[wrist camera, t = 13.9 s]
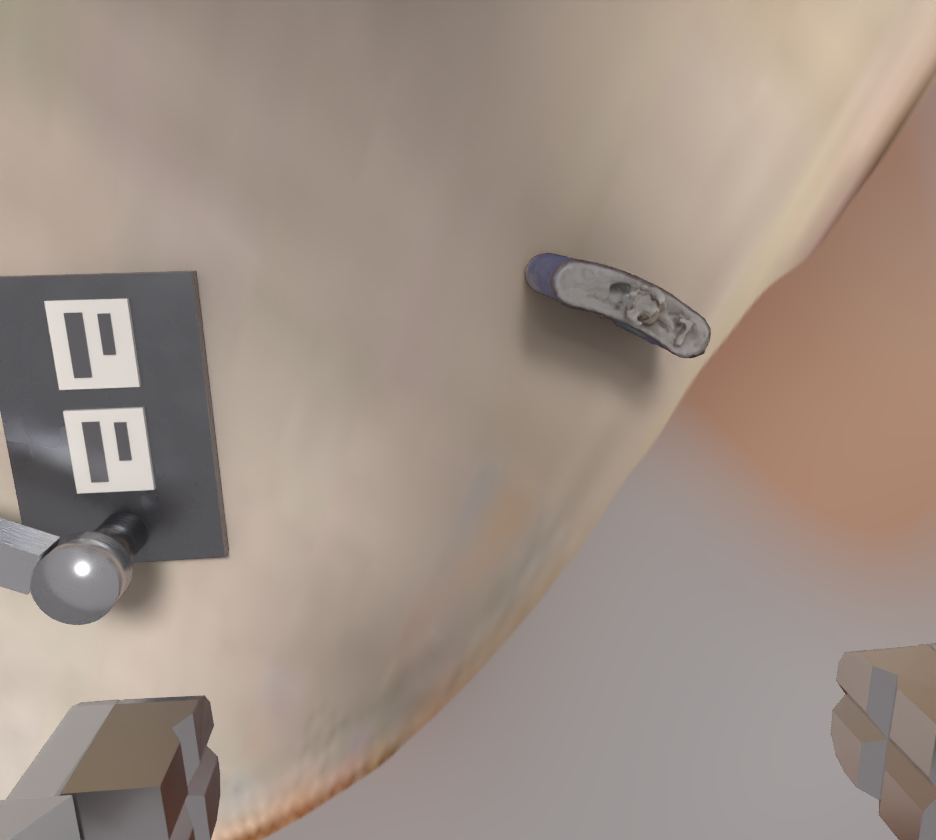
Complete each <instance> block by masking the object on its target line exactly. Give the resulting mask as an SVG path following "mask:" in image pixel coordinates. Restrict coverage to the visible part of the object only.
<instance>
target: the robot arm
mask: <svg viewBox="0 0 936 840" xmlns="http://www.w3.org/2000/svg"><path fill="white" fill-rule="evenodd" d="M836 681H837V682H838V684H839V685H840V687H841V688H842V690H843V691H844V692H845V695H844V697H843V698H842V699H841V700H840V702H839V703H838V704H837V705H836V706H835V708H834V709H833V710H832V723H831V736H832V741H833V745H834V749H835V754H836V757H837V759H838V760H839V763H840V765H841V767H842V769H843V770H844V772H845V774H846V775H847V776H848V777H849V779H850V780H851V781H852V783H853V784H854V785H855V786H856V787H857V788H859V789H861V790H862V791H864V792H866V793H868V794H869V795H871V796H873V797H875V798H877V799H878V800H879V816H880V817H881V818H882V819H883V821H884V822H885V823H886V824H887V826H888V827H889V828H890V830H891V831H892V832H893V833H894V834H895V836H896V837H897V838H898V839H899V840H936V643H932V644H922V645H918V646H909V647H897V648H886V649H874V650H863V651H851V652H844V654H843V656H842V658H841V659H840V661H839V663H838V671H837V677H836ZM213 727H214V723H213V717H212V711H211V705H210V702H209V700H208V699H207V698H206V697H205V696H186V697H166V698H145V699H125V700H122V701H121V700H107V701H94V702H81V703H79V704H77V705H75V706H72V707H71V709H70V710H69V711H68V712H67V714H66V715H65V717H64V718H63V719H62V721H61V722H60V724H59V725H58V727H57V728H56V729H55V731H54V732H53V734H52V735H51V736H50V738H49V739H48V741H47V742H46V743H45V745H44V746H43V748H42V749H41V750H40V752H39V753H38V755H37V756H36V757H35V759H34V760H33V762H32V763H31V765H30V766H29V767H28V769H27V770H26V772H25V773H24V774H23V776H22V777H21V779H20V780H19V781H18V783H17V784H16V786H15V787H14V788H13V790H12V791H11V793H10V794H9V795H8V797H7V798H6V800H0V840H211V838H212V834H213V831H214V828H215V824H216V821H217V814H218V807H219V800H220V770H219V761H218V756H217V755H216V754H215V753H214V752H213V751H212V750H211V749H210V748H208V747H207V746H206V745H207V743H208V740H209V737H210V735H211V732H212V729H213Z"/></svg>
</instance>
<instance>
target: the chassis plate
mask: <svg viewBox="0 0 936 840" xmlns="http://www.w3.org/2000/svg"><path fill="white" fill-rule="evenodd" d="M120 298H129V302H130V309H131V317H132V324H133V331H134V338H135V345H136V352H137V359H138V366H139V373H140V380H141V386H140V387H125V388H99V389H73V390H59V385H58V380H57V374H56V368H55V362H54V356H53V350H52V344H51V339H50V333H49V327H48V321H47V315H46V309H45V303H44V301H53V300H87V299H120ZM131 407H144V409H145V416H146V423H147V430H148V437H149V444H150V451H151V458H152V465H153V472H154V480H155V487H156V488H155V489H154V490H141V491H121V492H100V493H80V494H77V491H76V485H75V479H74V473H73V467H72V462H71V456H70V450H69V444H68V438H67V432H66V426H65V421H64V415H63V411H65V410H82V409H107V408H131ZM0 411H1V417H2V422H3V427H4V432H5V437H6V442H7V448H8V453H9V458H10V463H11V468H12V474H13V479H14V484H15V489H16V494H17V499H18V505H19V510H20V515H21V520H22V525H24V526H28V527H31V528H34V529H37V530H40V531H43V532H46V533H49V534H52V535H55V536H59V537H60V540H59V543H61V542H62V541H63V540H64V539H65V538H67V537H69V536H71V535H73V534H76V533H80V532H93V531H94V530H95V529H96V528H97V527H99V526H100V525H101V524H102V523H103V522H104V521H105V520H106V519H107V518H108V517H109V516H111V515H113V514H116V513H129V514H132V515H134V516H136V517H138V518H139V519H140V520H141V521H142V522H143V523H144V525H145V527H146V529H147V540H146V543H145V545H144V546H143V547H142V548H141V550H140V551H139V552H138V553H137V554H136V556H135V557H134V558H133V559H132V560H131V561H132V562H148V561H166V560H184V559H202V558H220V557H225V556H226V555H227V553H228V551H229V549H228V540H227V532H226V523H225V514H224V506H223V497H222V489H221V480H220V472H219V463H218V454H217V446H216V437H215V429H214V420H213V411H212V403H211V394H210V386H209V377H208V369H207V360H206V351H205V343H204V334H203V326H202V317H201V309H200V300H199V291H198V283H197V274H196V271H175V272H139V273H103V274H67V275H31V276H0ZM59 543H58V544H59Z"/></svg>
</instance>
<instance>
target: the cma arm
mask: <svg viewBox="0 0 936 840" xmlns="http://www.w3.org/2000/svg"><path fill="white" fill-rule="evenodd" d="M59 540H60V537H59V536H55V535H52V534H49V533H46V532H43V531H40V530H37V529H34V528H31V527H28V526H24V525H21V524H18V523H15V522H12V521H9V520H6V519H3V518H0V586H1V587H4V588H8V589H11V590H14V591H17V592H21V593H24V594H27V595H28V594H29V593H30V592H31V593H32V596H33V599H34V601H35V602H36V604H37V605H38V607H39V608H40V609H41V610H42V611H43V612H44V613H45V614H47V615H48V616H49V617H51V618H53V619H55V620H57V621H59V622H62V623H66V624H72V625H82V624H88V623H91V622H94V621H96V620H99V619H100V618H102V617H103V616H104V615H106V614H107V613H108V612H109V610H110V609H111V608H112V607H113V605H114V604H115V603H116V602H117V600H118V599H119V598H120V596H121V595H122V594H123V593H124V591H125V590H126V589H127V587H128V586H129V584H130V582H131V579H132V574H133V566H132V561H131V558H130V556H129V554H128V552H127V551H126V549H125V548H124V547H123V546H122V545H121V544H120V543H119V542H118V541H116V540H115V539H113V538H112V537H110V536H108V535H105V534H102V533H98V532H80V533H76V534H73V535H71V536H69V537H67V538H65V539H64V540H63V541H62V542H61V543H59ZM58 543H59V544H58Z"/></svg>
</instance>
